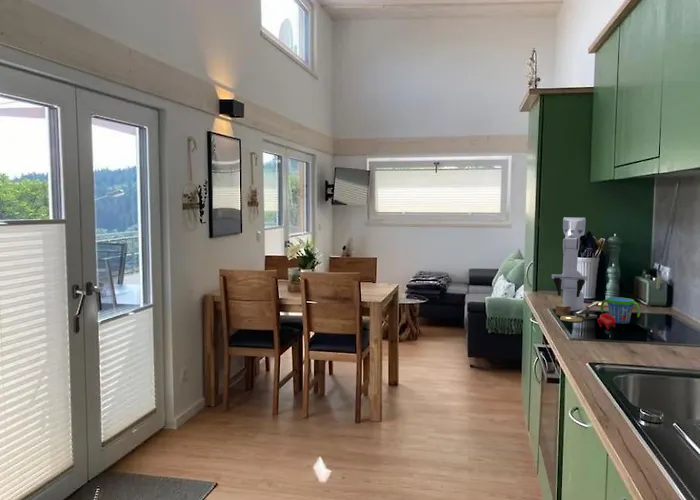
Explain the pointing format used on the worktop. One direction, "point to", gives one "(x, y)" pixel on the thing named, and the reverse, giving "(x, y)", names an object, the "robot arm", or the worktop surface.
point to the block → (563, 310)
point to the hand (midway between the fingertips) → (568, 296)
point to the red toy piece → (606, 320)
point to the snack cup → (620, 309)
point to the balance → (580, 317)
